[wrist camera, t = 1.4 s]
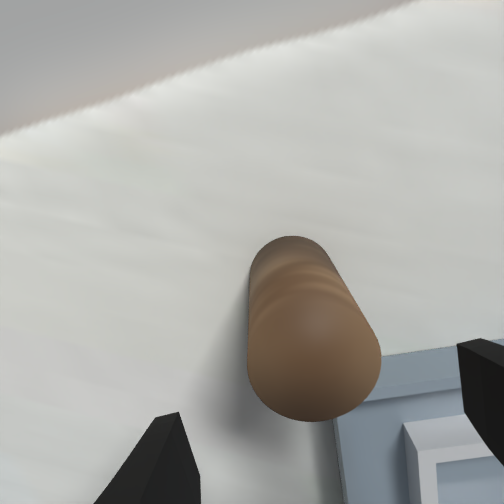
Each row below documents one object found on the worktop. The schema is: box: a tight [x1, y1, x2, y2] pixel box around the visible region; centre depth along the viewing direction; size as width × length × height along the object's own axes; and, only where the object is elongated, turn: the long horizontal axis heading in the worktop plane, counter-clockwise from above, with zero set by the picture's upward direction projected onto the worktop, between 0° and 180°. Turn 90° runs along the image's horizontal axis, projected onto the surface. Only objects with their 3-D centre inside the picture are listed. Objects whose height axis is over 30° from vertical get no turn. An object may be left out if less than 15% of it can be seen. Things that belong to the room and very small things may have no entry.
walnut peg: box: [247, 236, 381, 422], centre depth 16 cm, size 4×4×8 cm
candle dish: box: [332, 339, 504, 504], centre depth 22 cm, size 14×14×3 cm
